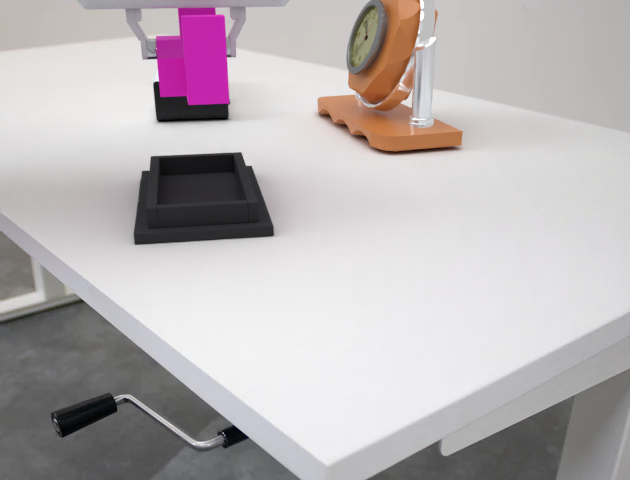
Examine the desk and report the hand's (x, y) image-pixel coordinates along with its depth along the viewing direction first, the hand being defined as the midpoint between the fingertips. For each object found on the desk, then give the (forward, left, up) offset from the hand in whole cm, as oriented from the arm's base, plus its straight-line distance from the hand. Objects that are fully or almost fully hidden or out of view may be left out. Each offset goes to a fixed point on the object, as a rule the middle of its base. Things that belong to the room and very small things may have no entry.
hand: (190, 57), depth 74 cm
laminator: (+1, +59, -15) cm, 61 cm away
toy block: (0, 0, -3) cm, 3 cm away
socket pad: (0, 0, -15) cm, 15 cm away
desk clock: (+28, +32, -15) cm, 45 cm away
